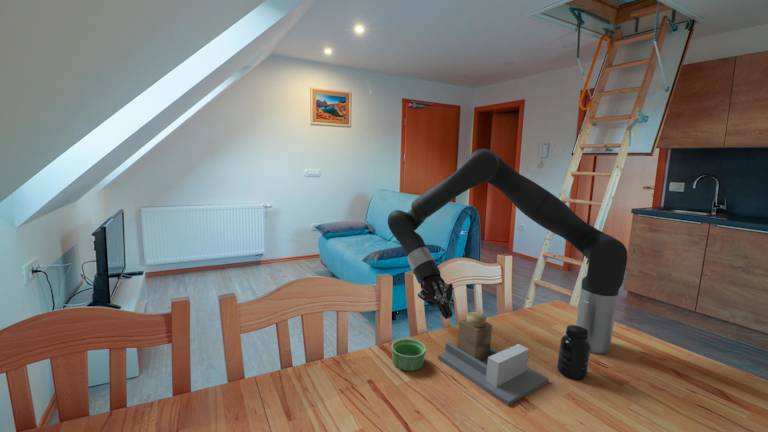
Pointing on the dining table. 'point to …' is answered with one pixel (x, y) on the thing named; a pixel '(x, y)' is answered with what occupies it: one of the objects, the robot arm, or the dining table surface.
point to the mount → (497, 371)
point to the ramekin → (408, 354)
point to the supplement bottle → (574, 353)
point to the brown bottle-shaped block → (475, 335)
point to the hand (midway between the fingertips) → (449, 317)
